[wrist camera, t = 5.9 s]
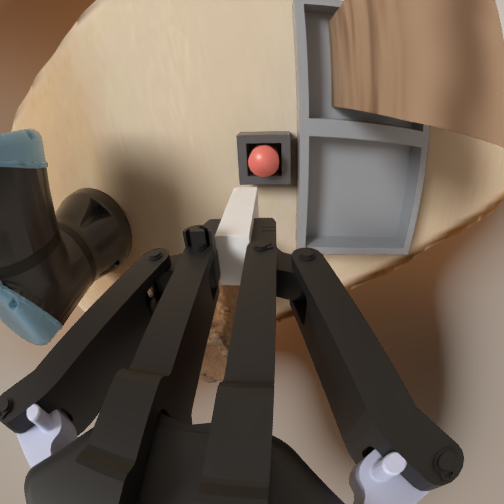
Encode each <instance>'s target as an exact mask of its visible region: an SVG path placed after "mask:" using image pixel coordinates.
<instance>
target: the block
mask: <svg viewBox="0 0 504 504" xmlns="http://www.w3.org/2000/svg"><path fill="white" fill-rule="evenodd" d="M239 288H240V285H221V279H219V290H220V292H219V296H218V300H217V304H216V308H215V312H214V316H213V321H212V325H211V329H210V333H209V337H208V341H207V346H206V350H205V354H204V359H203V363H202V367H201V372H200V376H199V378H201V379H202V380H204V381H206V382H209V383H211V382H216V381H218V380H224V375H225V369H226V363H227V357H228V351H229V345H230V340H231V334H232V328H233V322H234V316H235V311H236V305H237V299H238V293H239Z"/></svg>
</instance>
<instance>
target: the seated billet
mask: <svg viewBox="0 0 504 504" xmlns="http://www.w3.org/2000/svg"><path fill="white" fill-rule="evenodd" d="M328 32H329V47H330V68H331V106H334V107H341V108H348V109H354V110H359V111H365V112H370V113H375V114H380V115H384V116H389V117H393V118H397V119H401V120H405V121H410V122H415V123H420V124H425V125H430V126H434V127H438V128H442V129H446V130H450V131H454V132H457V133H461V134H464V135H468V136H471V137H474V138H477V139H481V140H484V141H486V142H489V143H492V144H495V145H498V146H500V147H503V148H504V41H503V34H502V28H501V23H500V19H499V14H498V10H497V6H496V2H495V0H344V2H343V3H342V4H341V6H340V7H339V8H338V10H337V11H336V13H335V14H334V15H333V17H332V18H331V20H330V21H329V22H328Z"/></svg>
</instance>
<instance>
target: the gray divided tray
mask: <svg viewBox="0 0 504 504" xmlns="http://www.w3.org/2000/svg"><path fill="white" fill-rule="evenodd" d="M343 2H344V1H341V0H293V4H292V14H293V28H294V43H295V63H296V89H297V215H296V247H297V249H299V248H306V247H309V248H314V249H316V250H318V251H319V252H320V253H322V254H394V255H408V252H409V248H410V245H411V241H412V237H413V233H414V229H415V224H416V220H417V215H418V210H419V206H420V200H421V195H422V189H423V183H424V177H425V170H426V163H427V155H428V146H429V135H430V125H425V124H420V123H415V122H410V121H405V120H401V119H397V118H393V117H389V116H384V115H380V114H375V113H370V112H365V111H359V110H354V109H348V108H341V107H334V106H331V68H330V47H329V32H328V22H329V21H330V20H331V18H332V17H333V15H334V14H335V13H336V11H337V10H338V8H339V7H340V6H341V4H342V3H343Z"/></svg>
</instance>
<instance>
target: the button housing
mask: <svg viewBox="0 0 504 504" xmlns="http://www.w3.org/2000/svg"><path fill="white" fill-rule="evenodd" d="M249 143H281V160H282V170H277V171H276V172H275V173H274V174H273V175H271V176H268V177H260V176H257V175H255V174H254V173H253V172H252V171H251V170H250V168H249V165H248V159H249ZM237 149H238V165H239V180H240V185H246V184H290V132H288V131H273V132H240V133H239V134H238V135H237Z"/></svg>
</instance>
